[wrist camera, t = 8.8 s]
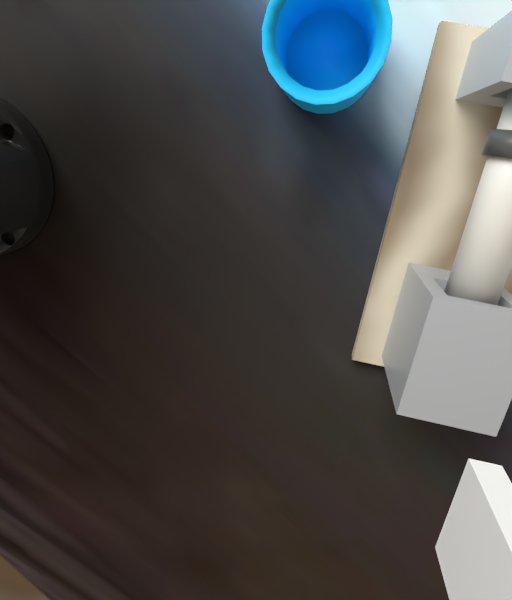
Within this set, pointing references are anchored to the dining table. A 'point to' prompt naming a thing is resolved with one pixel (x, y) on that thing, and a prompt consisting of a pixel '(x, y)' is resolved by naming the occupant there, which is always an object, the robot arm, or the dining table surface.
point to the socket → (489, 66)
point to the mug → (326, 49)
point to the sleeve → (449, 354)
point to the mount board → (430, 185)
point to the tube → (488, 223)
